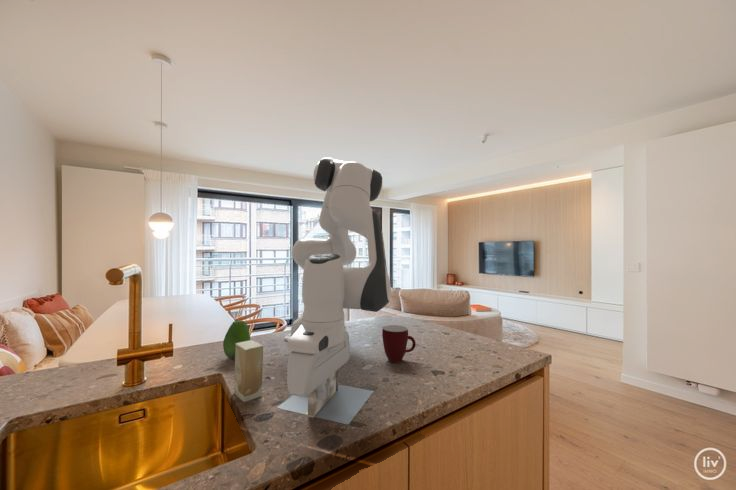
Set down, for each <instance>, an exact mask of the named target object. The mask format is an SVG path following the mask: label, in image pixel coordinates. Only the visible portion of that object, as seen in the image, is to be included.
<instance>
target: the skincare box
mask: <svg viewBox="0 0 736 490" xmlns="http://www.w3.org/2000/svg"><path fill="white" fill-rule="evenodd" d="M263 363H264V345H262V344H260V343H259V342H257V341H255V340H253V339H250V340H249V341H244V342H240V343H236V348H235V360H234V384H233V393H234V395H236V397H237V398H238V399H240V400H241V401H242V402H243V403H245V402H248V401H251V400H255V399H257V398H260V397H262V396H263V395H262V394H263V368H264V367H263V366H264V364H263Z"/></svg>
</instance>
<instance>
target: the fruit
mask: <svg viewBox="0 0 736 490" xmlns="http://www.w3.org/2000/svg"><path fill="white" fill-rule="evenodd" d="M249 340H251V335H250V331H249V326H248V324H247V323H246V322H245V321H244V320H241V319H237V320H235V321H233V322H231V324H230V326H229V328H228V329H227V332H226V334H225V336H224V338H223V341H222V342H223V343H222V346H223V347H222V348H223V352H224V354H225V356H226V357H227V358H228V359H231V360H233V361H235V348H236V343H240V342H244V341H249Z"/></svg>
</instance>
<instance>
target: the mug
mask: <svg viewBox="0 0 736 490" xmlns="http://www.w3.org/2000/svg"><path fill="white" fill-rule="evenodd" d="M381 336H382V342H383V350H384V354H385V356H386V358H387V360H388V361H389V362H390V363H400V362H401V361H402V360H403V358H404V356H405V354H406V353H410V352H412V351H414V350H415V348H416V343H417V342H416V340H415V338H414V337H413V336H411V335H409V328H408V327H406V326H403V325H397V324H395V325H394V324H391V325H389V324H388V325H386V326H385V325H384V326H383V327H382V334H381ZM408 340H409V341H411V342H412V345H411V347H410V348H408V349H407V346H408Z"/></svg>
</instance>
